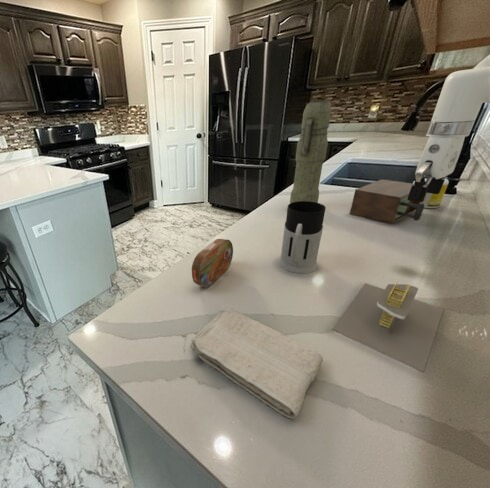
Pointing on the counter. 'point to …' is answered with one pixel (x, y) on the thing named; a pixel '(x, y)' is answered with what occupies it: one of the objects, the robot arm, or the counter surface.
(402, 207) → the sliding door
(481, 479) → the counter surface
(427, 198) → the pill bottle
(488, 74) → the robot arm
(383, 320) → the platform
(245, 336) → the washcloth
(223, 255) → the tin
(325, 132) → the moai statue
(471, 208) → the counter surface
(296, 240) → the glass holder
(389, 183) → the cabinet
